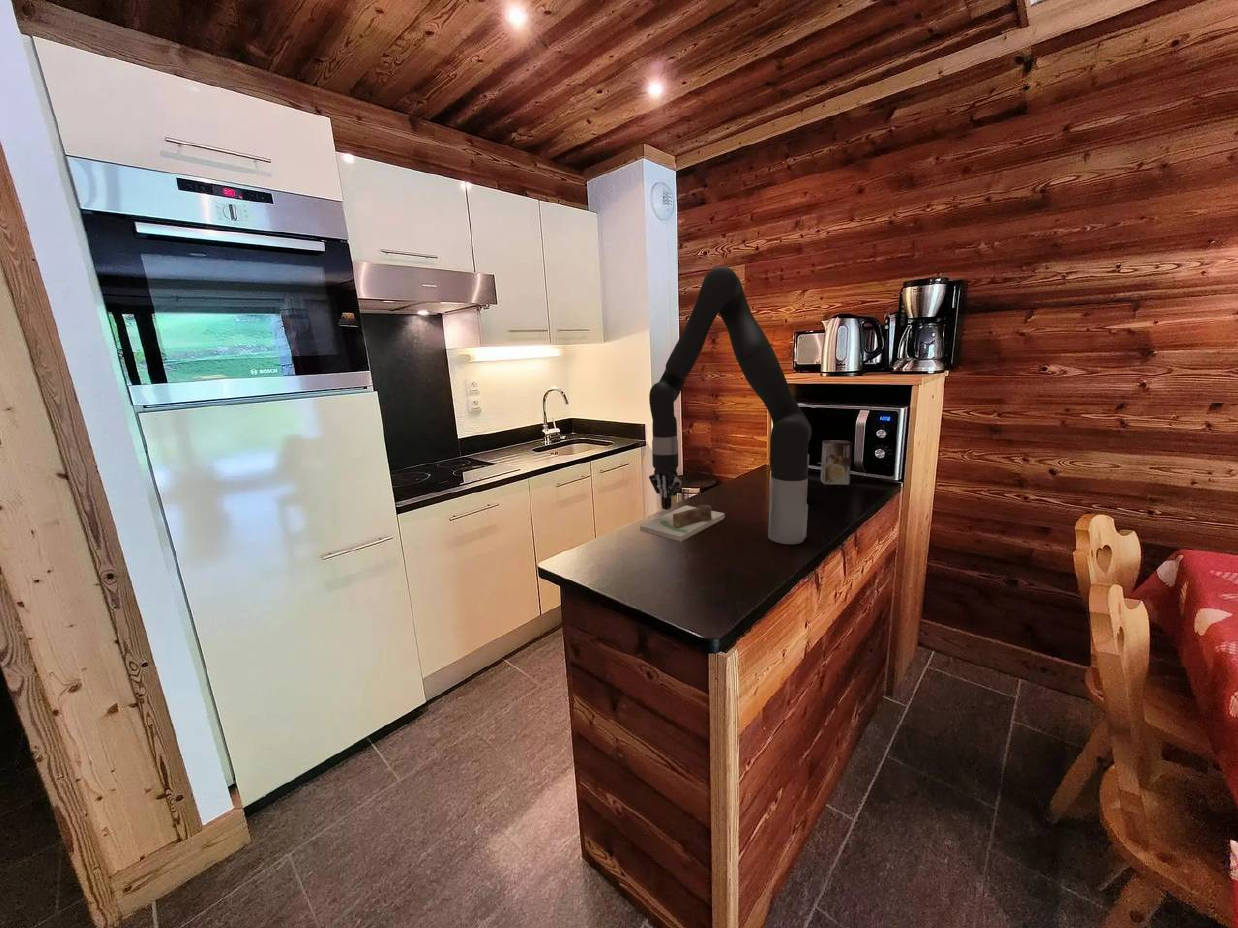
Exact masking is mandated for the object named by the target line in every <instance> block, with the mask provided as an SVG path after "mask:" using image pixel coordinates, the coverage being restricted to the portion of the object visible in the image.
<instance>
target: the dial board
mask: <svg viewBox="0 0 1238 928" xmlns="http://www.w3.org/2000/svg"><path fill="white" fill-rule="evenodd" d="M696 507H697V506H696ZM696 507H695V506H691V505H686V504H685V505H684V506H682V507H681V506H680V507H679V508H677V509H675V510H672V511H671V512H668V513H666V514H663V515H661V516H659V517H657V518H654V519H652V520H650V521H648V522H645V523H643V524H640V527H639V530H640V532H644V533H647V534H651V535H655V536H658V537H663V538H666V539H669V540H673V541H676V542H683V541H685V540H687V539H688V538H691V537H692V536H694V535H696V534H698V533H700V532H701V531H703V530H705V529H707V528H709V527H711V526H712V525H715V524H717V523H718V522H720V521H722V520H724V519H725V513H724V512H721V511H720V512H718V511H715V510H711V519H710V520H700V521H697V522H694V523H691V524H687V525H684V526H681V527H675V526H673V514H675V513H676V514H677V513H680V512H684V511H687V510H691V509H694V508H696Z"/></svg>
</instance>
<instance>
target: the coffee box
mask: <svg viewBox="0 0 1238 928" xmlns="http://www.w3.org/2000/svg"><path fill="white" fill-rule="evenodd" d="M852 449H853V443H852V442H851V441H849V440H846V439H845V440H844V439H840V440H837V439H836V440H835V439H834V440H831V439H830V440H829V439H826V440H825V439H823V440H822V449H821V465H820V466H821V467H820V481H821V482H822V483H823V485H847V486H849V485H850V483H851V482H850V481H851V467H852V466H851V463H852Z"/></svg>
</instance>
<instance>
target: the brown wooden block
mask: <svg viewBox="0 0 1238 928" xmlns="http://www.w3.org/2000/svg"><path fill="white" fill-rule="evenodd" d="M711 511H712V506H711V505H708V504H699V505H696V508H694V509H691V510H687V511H684V512H680V513H677V514H676V513H675V514H673V526H675V527H681V526H684V525H687V524H691V523H694V522H697V521H700V520H710V519H711Z"/></svg>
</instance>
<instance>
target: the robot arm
mask: <svg viewBox="0 0 1238 928" xmlns="http://www.w3.org/2000/svg"><path fill="white" fill-rule="evenodd" d="M690 313H691V314H690V315H689V318H688V321H687V322H686V325H685V326H684V329H683V331H682V332H681V334H680V336H679V338H678V340H677V342H676V344H675V346H674V347H673V350H672V351H671V353H670V355H669V358H668V359H667V361H666V363H665V369H664V372H663V373H662V375H661V377H660V379H659V380H658V382H655V383H654V384H653V385H652V386H651V388H650V390H649V394H648V396H649V397H648V398H649V401H648V402H649V409H650V415H651V420H652V425H651V426H652V429H651V430H652V440H651V441H652V442H651V450H652V451H651V455H652V456H651V458H652V467H653V469H654V470H653V474H651V475H649V476H648V479H649V481H650V483H651V485H652V487H653V489H654V491H655V493H656V494H659V496H660V498H661V499H660V502H661V503H660V505H661V508H662V509H663V510H670V509H671V508H672V497H674V496H677V495H678V494H679V492H680V491H681V489H682V487H683V486H684V484H685V483H684V481H683V480H681V479H679V478H678V475H679V474H678V471H677V469H678V467H679V465H680V464H679V440H678V421H677V417H676V416H675V402H676V401H677V398H678V397H679V396H680V394H681V391H682V390H683V387H684V385H685V383H686V380H687V378H688V377H689V375H690V373H691V371H692V369H693V368H694V366H695V364H696V362H697V361H698V359H699V356H700V355H701V353H702V350H703V347H704V345H705V342H706V339H707V336H708V334H709V331H710V329H711V327H712V325H713V322H714V321H715V320H716V318H717V316H718V315H719V316H720V318H721V320H722V322H723V323H724V325H725V327H726V329H727V331H728V335H729V340H730V344H731V348H732V351H733V354H734V356H735V359H736V361H737V363H738V366H739V368H740V371H741V372H742V375H743V377H744V378H745V380H746V382H747V383H748V385H749V386H750V387H751V388H752V390H753V392H754V393H755V394H756V395H757V396H758V397H759V399H760V400H761V401H762V403H763V405H764V406H765V407H766V410H767V411H768V414H769V417H770V419H771V421H772V424H773V427H772V428H771V431H770V437H769V439H770V441H769V443H770V444H769V467H770V484H769V485H770V488H769V489H770V490H769V506H768V507H769V511H768V512H769V513H768V530H767V531H768V532H767V538H768V539H769V540H770V541H772V542H775V543H777V544H778V543H779V544H782V545H797V544H798V545H799V544H802V543H803V542H804V540H805V539H806V538H807V528H808V514H809V513H808V512H809V504H808V503H807V499H808V498H807V497H808V480H809V466H808V464H807V459H808V455H809V442H810V440H811V438H812V436H813V435H812V434H813V432H812V429H813V428H812V425H811V423H810V422H809V419H807V417H806V415H805V414H804V412H803V411H802V409H801V407H800V406H799V404H798V403H797V401H796V399H795V397H794V396H793V393H792V392H791V389H790V386H789V383H788V380H787V379H786V376H785V373H784V370H783V369H782V367H781V364H780V361H779V359H778V357H777V355H776V353H775V350H774V349H773V347H772V344H771V343H770V341H769V340H768V338H767V336H766V334H765V332H764V330H763V329H762V327H761V326H760V324H759V323H758V321H757V320H756V319H755V318H756V317H754V315H753V313H752V310H751V308H750V305H749V304H748V301H747V297H746V294H745V292H744V289H743V285H742V282H741V280H740V278H739V276H738V274H737V273H736V272H735V271H734V270H733V269H732V268H730V267H728V266H724V265H721V266H719V265H718V266H716V267H713V268H712V269H710V270H709V271H708V272H707V274H706V275H705V276H704V278H703V281H702V283H701V286H700V289H699V292H698V295H697V298H696V301H695V304H694V305H693V309H692V311H691V312H690Z"/></svg>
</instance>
